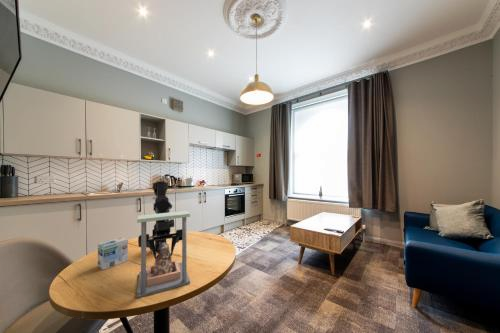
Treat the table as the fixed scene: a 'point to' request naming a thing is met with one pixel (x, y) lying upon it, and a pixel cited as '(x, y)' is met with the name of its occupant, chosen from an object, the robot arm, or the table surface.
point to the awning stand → (179, 273)
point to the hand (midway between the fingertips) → (163, 256)
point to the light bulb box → (112, 253)
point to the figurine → (163, 260)
